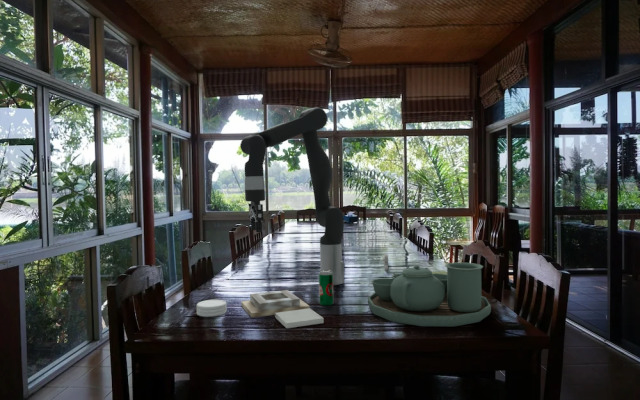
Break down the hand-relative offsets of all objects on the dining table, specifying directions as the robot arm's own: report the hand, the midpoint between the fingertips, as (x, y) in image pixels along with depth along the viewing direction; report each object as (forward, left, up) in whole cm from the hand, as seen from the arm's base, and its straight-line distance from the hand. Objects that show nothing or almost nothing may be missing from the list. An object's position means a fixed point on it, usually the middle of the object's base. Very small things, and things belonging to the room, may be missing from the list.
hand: (256, 231), depth 167 cm
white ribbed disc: (+19, +12, -26) cm, 35 cm away
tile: (-5, +33, -26) cm, 42 cm away
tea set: (-48, +40, -26) cm, 68 cm away
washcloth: (-77, +4, -26) cm, 81 cm away
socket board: (-2, +16, -26) cm, 30 cm away
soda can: (-20, +20, -26) cm, 38 cm away
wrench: (-75, -32, -26) cm, 85 cm away
